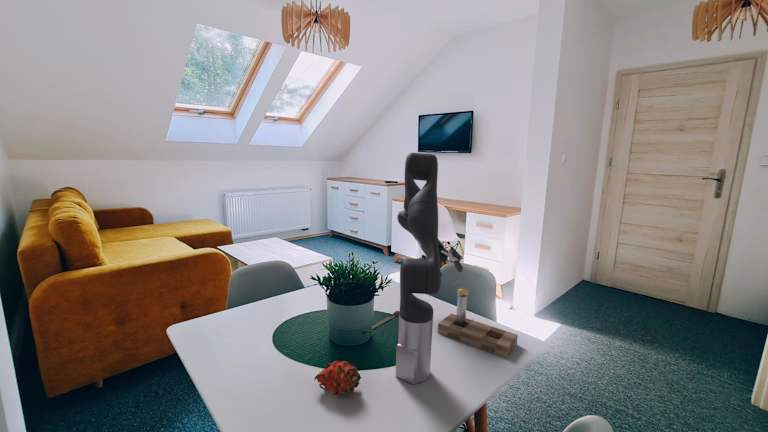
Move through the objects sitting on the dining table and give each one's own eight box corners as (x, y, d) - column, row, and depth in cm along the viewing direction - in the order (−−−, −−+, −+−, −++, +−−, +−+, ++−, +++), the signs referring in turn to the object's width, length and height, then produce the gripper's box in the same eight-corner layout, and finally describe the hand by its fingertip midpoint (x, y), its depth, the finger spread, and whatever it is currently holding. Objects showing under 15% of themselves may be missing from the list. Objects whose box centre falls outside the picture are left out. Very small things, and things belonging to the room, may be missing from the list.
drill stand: (506, 357, 108) (507, 347, 107) (437, 332, 122) (438, 323, 122) (516, 344, 116) (517, 334, 115) (450, 322, 130) (451, 313, 129)
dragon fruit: (363, 400, 90) (318, 402, 91) (364, 366, 96) (321, 369, 97) (357, 388, 84) (308, 391, 85) (358, 353, 90) (313, 356, 91)
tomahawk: (373, 341, 117) (373, 338, 117) (358, 332, 122) (359, 329, 121) (410, 319, 133) (410, 316, 133) (396, 312, 137) (396, 309, 137)
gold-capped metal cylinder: (462, 336, 120) (465, 292, 117) (452, 333, 122) (455, 289, 119) (466, 332, 123) (470, 289, 120) (457, 329, 125) (460, 286, 122)
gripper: (414, 239, 130) (435, 271, 119) (446, 232, 135) (470, 261, 124) (411, 254, 135) (431, 285, 123) (443, 246, 140) (465, 275, 129)
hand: (451, 273), depth 124 cm, fingers open, 8 cm apart
